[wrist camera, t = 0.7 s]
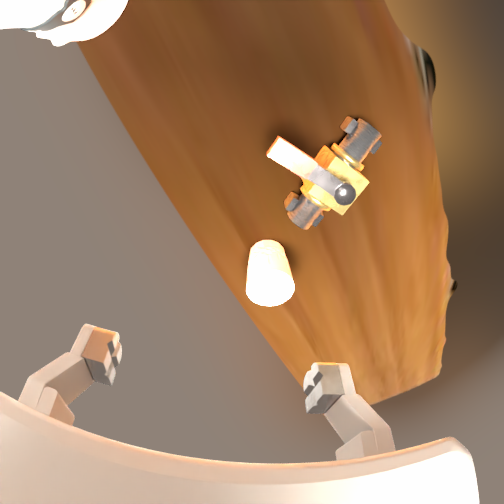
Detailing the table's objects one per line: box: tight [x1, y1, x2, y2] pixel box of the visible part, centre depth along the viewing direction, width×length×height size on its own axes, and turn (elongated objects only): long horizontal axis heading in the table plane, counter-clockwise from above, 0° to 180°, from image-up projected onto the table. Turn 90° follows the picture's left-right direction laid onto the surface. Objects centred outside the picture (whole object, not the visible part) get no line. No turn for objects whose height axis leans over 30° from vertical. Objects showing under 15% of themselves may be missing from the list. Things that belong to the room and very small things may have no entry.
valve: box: [284, 116, 382, 230], centre depth 42 cm, size 20×7×8 cm, turn 148°
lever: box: [267, 136, 356, 206], centre depth 37 cm, size 14×3×2 cm, turn 58°
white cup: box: [246, 240, 294, 306], centre depth 51 cm, size 8×8×10 cm
